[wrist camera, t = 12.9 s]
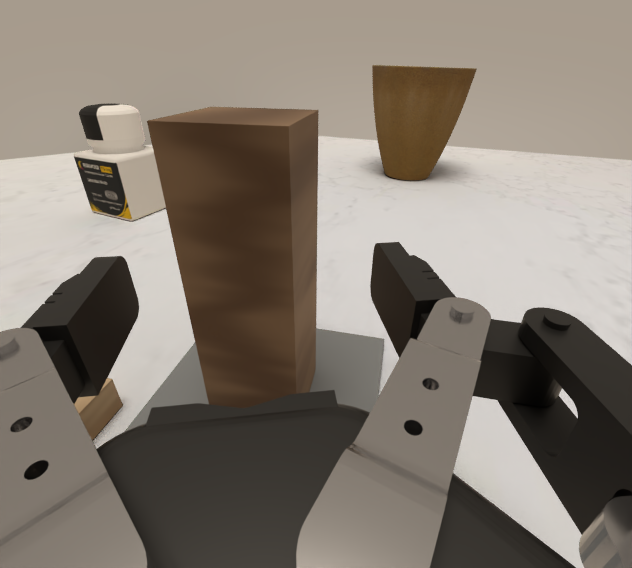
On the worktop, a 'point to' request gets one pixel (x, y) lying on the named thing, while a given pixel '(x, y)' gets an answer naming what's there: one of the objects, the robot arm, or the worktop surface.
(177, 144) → the walnut post
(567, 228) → the worktop surface
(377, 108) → the plant pot
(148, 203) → the medicine bottle
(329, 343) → the grey mat
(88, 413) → the oak socket
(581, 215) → the worktop surface
